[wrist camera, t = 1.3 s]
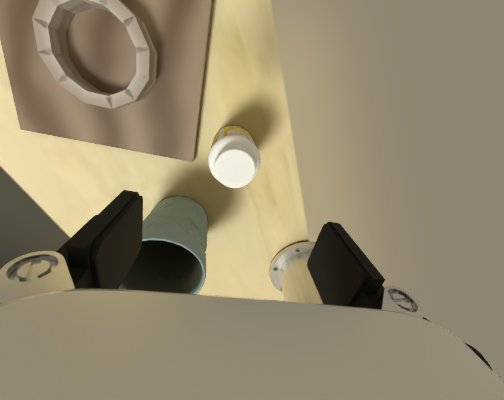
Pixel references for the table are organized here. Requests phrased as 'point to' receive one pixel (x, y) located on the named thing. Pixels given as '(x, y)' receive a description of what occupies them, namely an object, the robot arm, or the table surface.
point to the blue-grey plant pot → (171, 249)
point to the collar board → (109, 70)
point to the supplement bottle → (233, 157)
